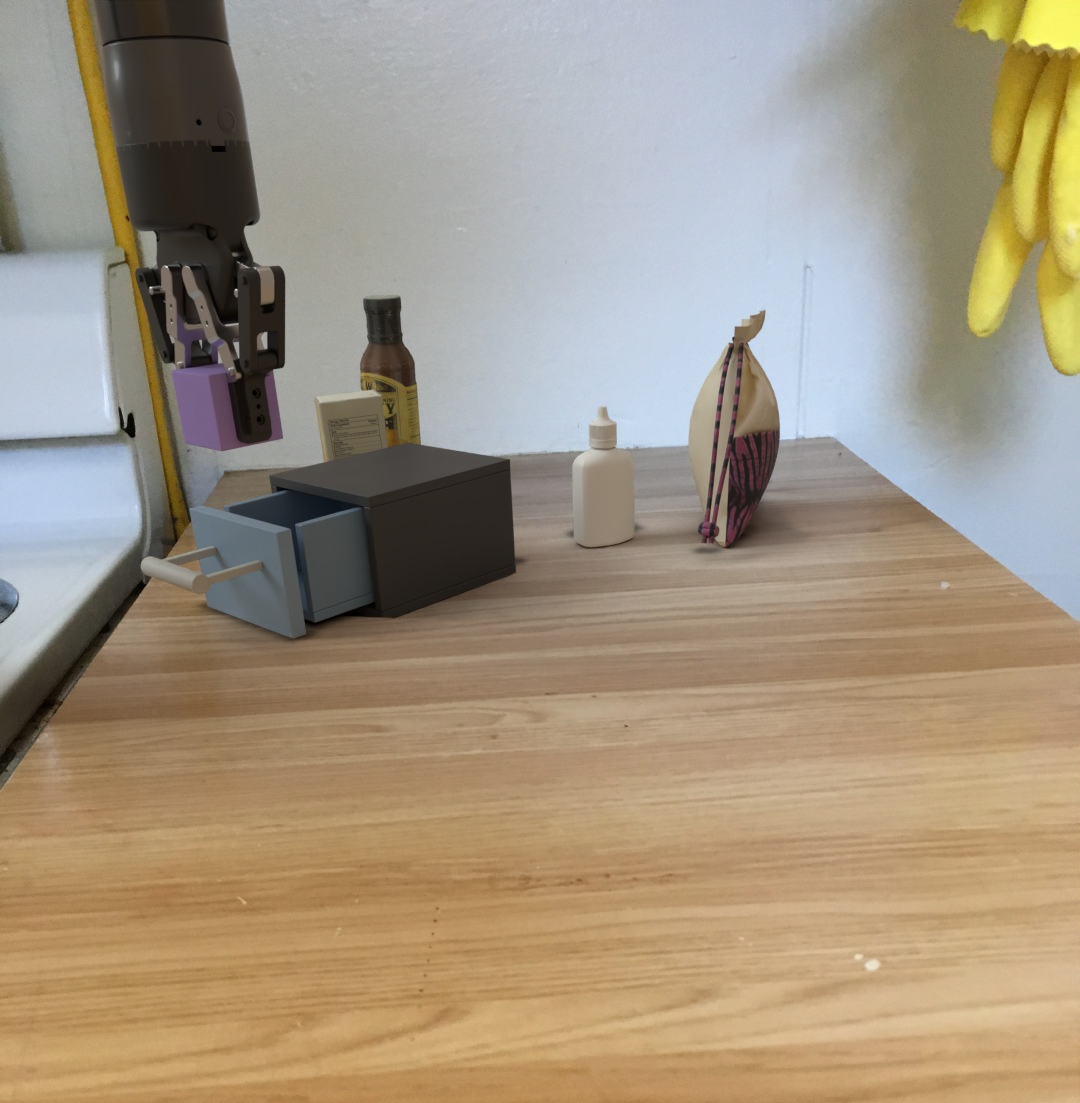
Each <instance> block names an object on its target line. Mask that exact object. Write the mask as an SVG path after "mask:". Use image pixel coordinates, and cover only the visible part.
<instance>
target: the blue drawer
mask: <svg viewBox="0 0 1080 1103" xmlns="http://www.w3.org/2000/svg"><path fill="white" fill-rule="evenodd" d="M364 507H365V506H360V505H356V504H352V503H347V502H343V501H339V500H334V499H330V498H326V497H321V496H317V495H312V494H308V493H304V492H299V491H295V490H291V489H288V490H284V491H280V492H276V493H272V492H271V493H267V494H264V495H260V496H257V497H252V498H248V499H244V500H240V501H236V502H232V503H228V504H227V503H226V504H224V505H223V509H224V510H222V509H218V508H214V507H210V506H206V505H204V504H203V505H199V506H198V505H197V506H193V507H190V508H188V509H189V511H188V512H189V515H190V520H191V525H192V526H191V527H192V532H193V537H194V542H195V547H196V549H195V550H191V551H188V552H183V553H181V554H177V555H173V556H169V557H166V558H163V559H161V558H158V557H155V556H151V555H150V556H145V557H144V558H143V559H142V561H141V562H140V570H141V572H142V574H144V575H145V576H148V577H150V578H153V579H155V580H159V581H161V582H164V583H167V584H169V585H172V586H174V587H177V588H180V589H182V590H185V591H187V592H191V593H194V594H197V595H200V596H201V595H204V594H205V600H206V605H207V606H206V607H208V608H211V609H213V610H215V611H219V612H221V613H223V614H226V615H229V616H231V617H234V618H236V619H239V620H241V621H244V622H247V623H250V624H252V625H256V626H258V627H261V628H263V629H266V630H268V631H270V632H274V633H276V634H279V635H282V636H285V637H287V638H290V639H292V640H295V639H297V638H299V637H302V636H305V635H307V628H306V623H305V620H307V621H310V622H312V623H318V622H321V621H324V620H327V619H330V618H333V617H336V616H339V615H341V614H344V613H347V612H351V611H350V610H353V609H356V608H358V607H361V606H364V605H367V604H370V603H373V602H375V598H374V590H373V581H372V573H371V564H370V555H369V547H368V538H367V530H366V521H365V512H364ZM195 561H198V562H199V568H200V572H199V571H195V570H192V569H191V568H187V567H184V566H181V565H184V564H188V563H191V562H192V563H193V562H195Z"/></svg>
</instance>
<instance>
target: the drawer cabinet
mask: <svg viewBox="0 0 1080 1103" xmlns="http://www.w3.org/2000/svg"><path fill="white" fill-rule="evenodd" d="M511 475H512V474H511V459H510V458H506V457H505V458H504V457H500V456H499V457H498V456H493V455H486V454H480V453H475V452H468V451H462V450H455V449H450V448H443V447H437V446H431V445H425V444H421V445H419V444H413V443H405V444H400V445H396V446H392V447H388V448H383V449H379V450H375V451H371V452H366V453H362V454H358V455H353V456H349V457H345V458H341V459H336V460H332V461H328V462H324V461H323V462H320V463H316V464H311V465H307V466H302V467H298V468H294V469H290V470H285V471H280V472H277V473H272V474H269V475H268V477H269V484H270V490H271V494H272V493H276V492H280V491H284V490H288V489H291V490H295V491H299V492H304V493H308V494H312V495H317V496H321V497H326V498H330V499H334V500H339V501H343V502H347V503H352V504H356V505H360V506H365V507H364V512H365V521H366V530H367V538H368V547H369V555H370V564H371V573H372V581H373V590H374V598H375V602H373V603H370V604H367V605H364V606H361V607H358V608H356V609H353V610H350V611H349V612H353V613H356V614H359V615H361V616H364V617H367V618H380V619H381V618H382V619H394V618H397V617H400V616H402V615H405V614H408V613H410V612H413V611H416V610H418V609H422V608H424V607H426V606H429V605H432V604H435V603H438V602H439V601H440V602H441V601H443V600H446V599H448V598H451V597H453V596H456V595H460V594H461V593H464V592H467V591H470V590H473V589H475V588H478V587H480V586H483V585H486V584H488V583H492V582H495V581H497V580H500V579H502V578H505V577H507V576H510V575H513V574H515V573H517V566H516V550H515V549H516V548H515V531H514V530H515V528H514V510H513V494H512V492H513V490H512V476H511Z"/></svg>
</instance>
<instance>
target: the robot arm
mask: <svg viewBox="0 0 1080 1103" xmlns="http://www.w3.org/2000/svg"><path fill="white" fill-rule="evenodd" d="M91 1H92V6H93V13H94V17H95V23H96V27H97V33H98V38H99V43H100V46H101V56H102V61H103V62H102V64H103V78H104V91H105V98H106V103H107V109H108V115H109V120H110V125H111V129H112V135H113V140H114V144H115V150H116V156H117V161H118V166H119V170H120V176H121V181H122V186H123V191H124V195H125V202H126V206H127V211H128V212H127V213H128V216H129V221H130V224H131V226H132V227H133V228H134V229H135V230H136V231H139V232H153V233H154V234H155V237H156V238H155V241H156V242H155V243H156V255H155V261H156V264H155V265H153V266H147V267H137V268H136V269H135V271H134V276H135V277H134V278H135V281H136V284H137V287H138V291H139V294H140V297H141V300H142V303H143V307H144V309H145V312H146V315H147V319H148V321H149V325H150V328H151V332H152V335H153V337H154V341H155V344H156V346H157V347H156V348H157V350H158V353H159V357H160V359H161V361H162V363H163V364H165V365H168V364H173V365H174V367H175V370H178V369H185V368H192V367H199V366H205V365H212V364H219V357H220V359H221V363H223V366H224V369H225V372H226V375H227V377H228V379H229V380H230V381H231V382H233V383H228V389H229V395H230V401H231V407H232V412H233V418H234V424H235V430H236V436H237V439H238V440H239V441H240V442H242V443H246V444H252V443H256V442H261V441H266V440H269V439H270V438H271V436H272V428H271V419H270V415H269V413H270V412H269V408H268V407H269V406H268V400H267V393H266V387H265V377H268V376H269V375H270V372H271V371H272V370H273V371H274V370H279V369H283V368H285V364H286V274H285V271H284V269H283V268H282V266H280V265H270V266H268V265H262V264H259V263H257V262H255V261H254V256H253V254H252V251H251V249H250V247H249V243H248V242H247V237H246V234H245V228H246V227H252V226H255V225H257V224H258V223H259V221H260V219H261V211H260V210H261V209H260V203H259V196H258V190H257V183H256V176H255V171H254V170H255V168H254V163H253V157H252V149H251V142H250V136H249V135H250V134H249V129H248V122H247V116H246V108H245V103H244V102H245V101H244V96H243V89H242V87H241V82H240V78H239V75H238V71H237V68H236V64H235V60H234V54H233V50H232V46H231V38H230V31H229V24H228V17H227V11H226V5H225V0H91ZM234 324H235V325H234ZM264 333H266V348H265V347H264V343H263V340H262V337H263V335H264ZM171 337H172V338H173V341H174V342H172V339H171ZM200 341H201V342H200ZM235 343H238V352H237V349H236V346H235Z"/></svg>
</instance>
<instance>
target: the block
mask: <svg viewBox="0 0 1080 1103" xmlns="http://www.w3.org/2000/svg"><path fill="white" fill-rule="evenodd" d="M170 372H171V377H172V378H171V379H172V382H173V388H174V392H175V398H176V404H177V408H178V413H179V419H180V424H181V429H182V434H183V435H182V436H183V440H184V444H185V445H191V446H194V447H195V446H196V447H200V448H204V449H209V450H213V451H217V452H226V451H232V450H236V449H241V448H244V447H245V448H246V447H249V446H250V447H251V446H255V445H260V444H264V443H270V442H274V441H278V440H284V433H283V427H282V420H281V412H280V406H279V400H278V393H277V388H276V387H277V386H276V381H275V380H276V378H275V374H274V370H272V371H271V372H270V375H269V376H268V377H265V387H266V393H267V400H268V406H269V407H268V408H269V412H270V413H269V415H270V419H271V428H272V436H271V438H270V439H269V440H266V441H261V442H256V443H252V444H246V443H242V442H240V441H239V440H238V439H237V436H236V430H235V424H234V418H233V412H232V407H231V401H230V395H229V389H228V383H233V382H231V381H230V380H229V379H228V377H227V375H226V372H225V369H224V366H223V363H222V362H218V364H212V365H205V366H199V367H192V368H185V369H178V370H176V369H172V370H171V371H170Z"/></svg>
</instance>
